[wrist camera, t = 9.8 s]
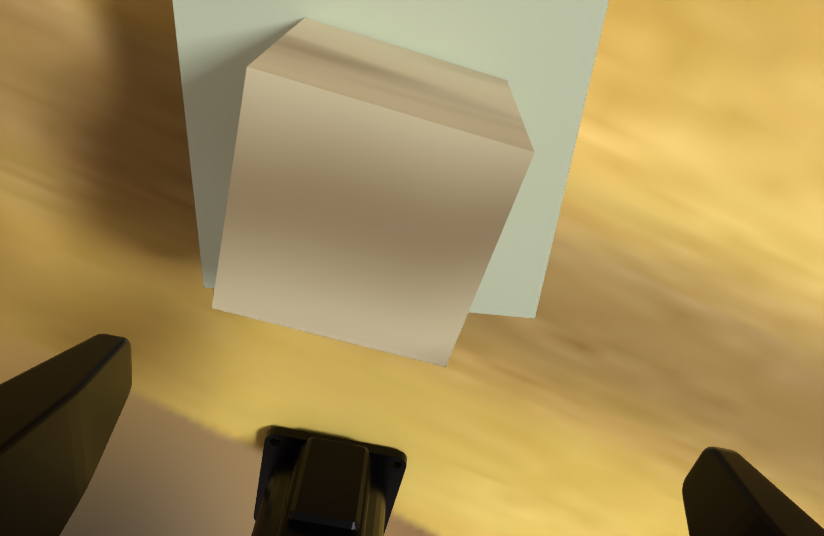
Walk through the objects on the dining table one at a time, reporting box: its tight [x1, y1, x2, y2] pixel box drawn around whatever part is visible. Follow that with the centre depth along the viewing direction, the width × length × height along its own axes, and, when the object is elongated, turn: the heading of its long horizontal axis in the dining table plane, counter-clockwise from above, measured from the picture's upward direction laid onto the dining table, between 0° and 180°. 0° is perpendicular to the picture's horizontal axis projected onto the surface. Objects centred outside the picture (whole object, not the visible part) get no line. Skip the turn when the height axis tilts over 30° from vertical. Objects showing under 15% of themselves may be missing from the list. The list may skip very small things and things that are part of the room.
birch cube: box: [212, 18, 535, 367], centre depth 14 cm, size 5×5×5 cm
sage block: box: [172, 0, 609, 318], centre depth 18 cm, size 10×10×5 cm
